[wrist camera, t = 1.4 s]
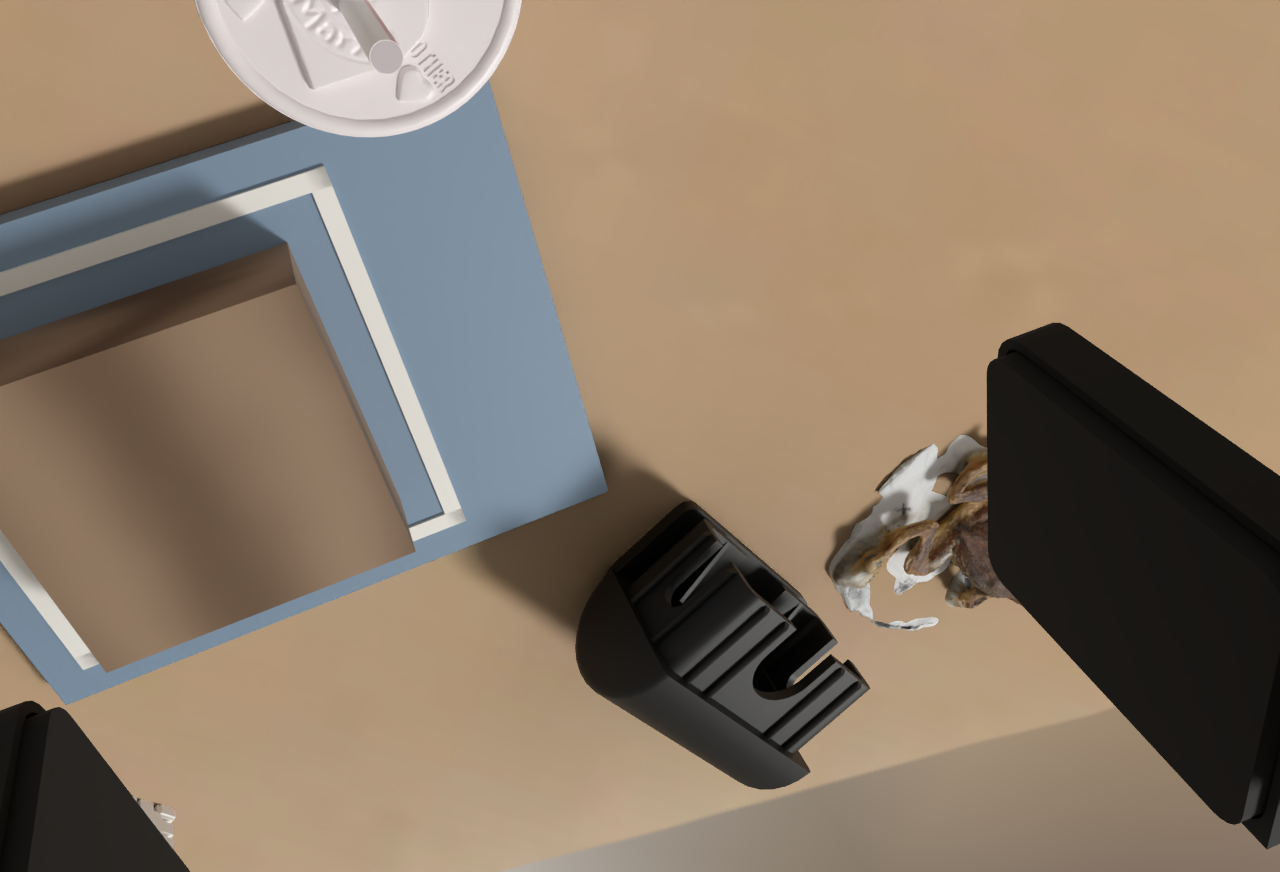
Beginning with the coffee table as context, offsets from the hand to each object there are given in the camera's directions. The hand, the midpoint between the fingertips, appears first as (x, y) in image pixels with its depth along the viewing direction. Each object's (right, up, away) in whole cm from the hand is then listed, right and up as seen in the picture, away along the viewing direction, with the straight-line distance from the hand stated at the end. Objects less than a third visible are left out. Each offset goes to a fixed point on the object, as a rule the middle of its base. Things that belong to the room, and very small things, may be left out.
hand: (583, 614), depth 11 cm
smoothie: (-8, +16, +18) cm, 25 cm away
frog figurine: (+15, -2, +40) cm, 42 cm away
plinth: (-14, +2, +24) cm, 28 cm away
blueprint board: (-12, +3, +24) cm, 27 cm away
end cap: (+2, -5, +36) cm, 36 cm away
